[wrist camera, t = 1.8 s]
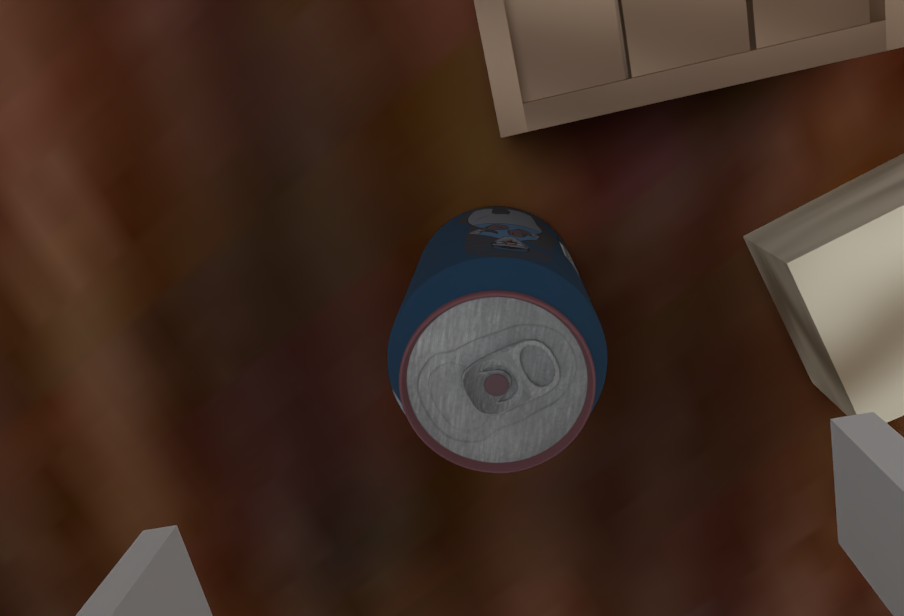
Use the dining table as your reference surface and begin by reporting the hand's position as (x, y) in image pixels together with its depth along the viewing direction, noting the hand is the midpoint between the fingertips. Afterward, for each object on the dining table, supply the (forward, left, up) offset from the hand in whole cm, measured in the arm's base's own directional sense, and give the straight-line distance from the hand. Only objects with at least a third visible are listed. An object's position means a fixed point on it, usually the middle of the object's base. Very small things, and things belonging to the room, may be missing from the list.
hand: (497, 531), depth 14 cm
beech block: (+3, +16, -19) cm, 25 cm away
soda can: (0, 0, -19) cm, 19 cm away
